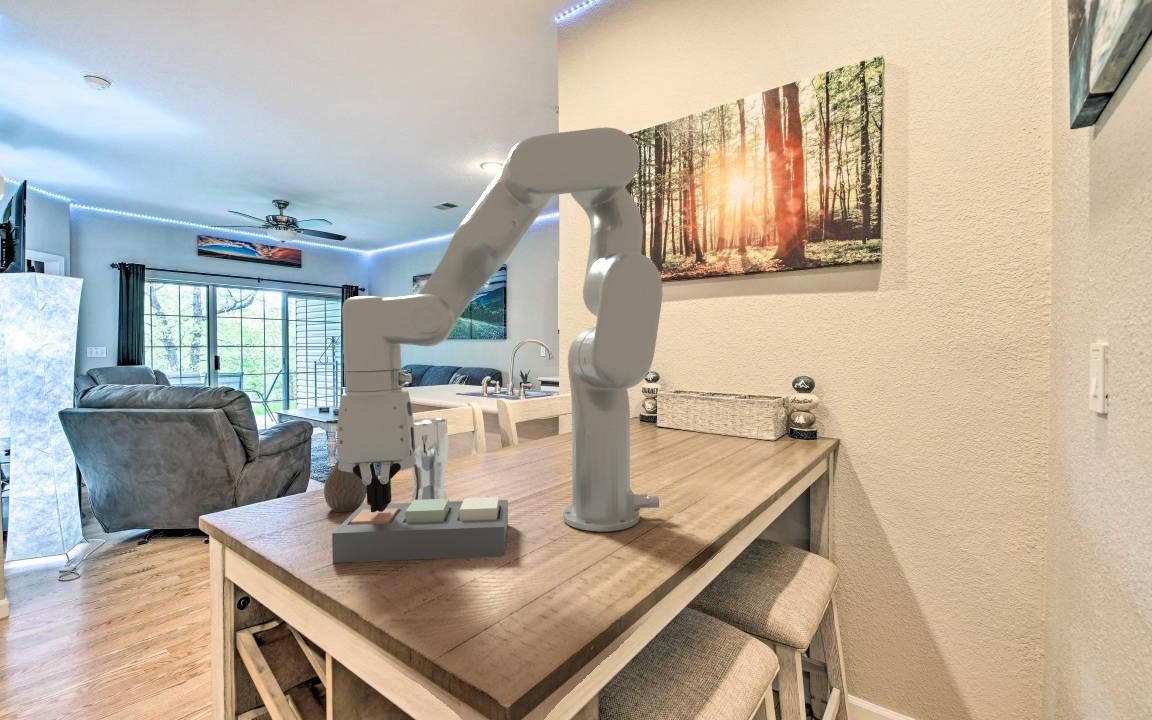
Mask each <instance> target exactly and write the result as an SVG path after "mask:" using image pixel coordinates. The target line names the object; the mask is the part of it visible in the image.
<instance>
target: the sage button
mask: <svg viewBox="0 0 1152 720" xmlns="http://www.w3.org/2000/svg"><path fill="white" fill-rule="evenodd" d="M449 502H450V498H447V499H427V500H413V502H412V501H411V502H410V503H411V504H410V506H409V507H408V509H407V510H406V511H405V513H406V523H414V522H442V521H446V520H447V518H448V515H449Z"/></svg>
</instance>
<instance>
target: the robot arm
mask: <svg viewBox="0 0 1152 720" xmlns="http://www.w3.org/2000/svg"><path fill="white" fill-rule="evenodd" d="M640 160H641V159H640V152H639V148H638V146H637V144H636V141H634V139H633V138H632V136H630V135H629V134H628V133H626V132H625V131H623V130H621V129H618V128H616V127H606V126H605V127H595V128H587V129H579V130H571V131H562V132H554V133H546V134H539V135H534V136H530V137H527V138H524V139H521V140H520V141H518V142H517V143H516V144H515V145H514V146H513V147H512V148H511V149H510V152H509V153H508V155H507V158H506V159H505V162H504V163H503V165H502V166H501V168H500V170H499V171H498V173H497V174H496V175H495V177H494V179H493V180H492V181H491V183H490V184H489V185H488V186H487V188H486V189H485V191H484V192H483V193H482V195H481V196H480V198H479V199H477V202H476V203H475V205H473V207H472V208H471V209H470V210H469V212H468V213H467V215H466V216H465V218H464V219H463V220H462V222H460V224H459V226H458V227H457V229H456V231H455V232H454V234H453V235H452V238H451V239H450V242H449V245H448V246H447V249H446V251H445V253H444V255H443V257H442V258H441V259H440V261H439V263H438V265H437V266H436V268H435V269H434V270H433V272H432V273H431V275H430V277H429V278H428V280H427V281H426V282H425V284H424V285H423V287H422V288H420V290H419V292H418V293H417V294H412V295H405V296H397V297H396V296H395V297H388V296H378V295H377V296H376V295H363V296H362V295H361V296H360V295H359V296H353V297H349V298H347V299H345V300H344V302H343V304H342V309H341V312H342V314H341V315H342V333H343V334H342V335H343V336H342V337H343V350H344V351H343V352H344V353H343V354H344V357H343V358H344V373H345V374H344V377H345V393H341V397H340V401H339V408H338V416H337V426H336V428H337V429H336V450H337V451H336V454H337V458H338V460H339V464H338V469H339V470H341V471H345V472H353V473H355V474H356V475H357V476H358V477H359V478H360V479H362V480H363V483H364V484H365V485H366V489H367V493H366V504H368V505H370V506H371V512H376V511H379V512H383V511H384V510H385V509H386V507H387V506H388V504H391V502H392V482H391V480H392V478H393V477H395V476H396V475H397V474H398V472H399V471H403V470H407V469H412V467H413V466H414V465H415V464H416V458H415V455H414V452H415V449H416V436H415V427H414V420H415V419H414V412H413V406H412V402H411V396H410V393H409V390H406V389H405V390H403V387H404V386H405V385H407V384H412V382H413V377H412V376H413V375H412V373H405V372H404V371H403V369H402V356H401V354H402V351H401V345H408V346H409V345H410V346H419V347H435V346H438V345H440V344H442V343H443V342H445V341H446V340H447V339H448V338H449V337H450V335H451V334H452V332H453V330H454V326H455V324H456V323H457V322H458V320H459V319H460V317H461V316H462V314H463V313H464V311H465V310H466V309H467V307H468V306H470V303H471V302H472V300H473V299H474V298H475V297H476V295H478V293H479V291H480V290H481V289H482V288H484V286H485V285H486V283H488V281H490V279H491V278H493V277H494V275H496V274H497V273H498V271H499V270H501V268H502V266H503V265H504V264H505V263H506V261H507V260H508V259H509V258H510V256H511V254H512V253H513V252H514V250H515V248H516V247H517V246H518V244H519V243H520V242H521V240H522V239H523V237H524V236H525V235H526V233H527V232H528V230H529V229H530V227H531V226H532V225H533V224H534V222H535V221H536V219H537V218H538V216H539V215H540V214H541V212H542V211H543V210H544V208H545V206H547V204H548V202H549V201H550V200H551V198H552V197H553V196H556V195H563V194H566V195H567V194H570V195H571V197H572V198H573V199H574V201H575V202H576V203H577V204H578V205H579V206H580V207H581V208H582V209H583V211H584V212H585V214H586V215H587V218H588V219H589V222H590V223H589V224H590V240H589V241H590V242H589V251H588V257H587V263H586V268H585V269H586V270H585V275H584V281H583V287H582V298H583V301H584V305H585V307H586V309H587V310H588V311H589V312H590V313H591V314H593V315H594V316H596V325H595V326H594V327H593V326H592V327H589V328H587V329H584V330H582V332H580V333H579V334H578V335H577V336H576V337H575V338H574V340H573V341H572V342H571V345H570V347H569V350H568V356H567V368H568V370H567V371H568V379H569V384H570V385H569V387H570V395H571V396H570V398H571V483H572V484H571V492H572V493H571V504H570V505H567V506H566V507H565V508H564V509H563V511H562V520H563V521H564V523H565V524H567V525H569V526H570V527H572V528H575V529H578V530H582V531H589V532H597V533H598V532H599V533H600V532H604V533H605V532H615V531H622V530H627V529H629V528H631V527H633V526H635V525H637V524H638V522H639V521H640V511H641V509H643V508H644V509H646V508H648V509H659V508H660V498H659V496H658V495H648V493H636V494H635V493H634V492H633V491H632V489H631V460H630V459H631V457H630V456H631V443H630V442H631V427H630V426H631V407H630V399H629V398H630V397H629V392H628V389H632V388H635V387H636V386H638V385H639V384H640V383H641V382H642V381H643V380H644V379H645V378H646V377H647V375H648V373H649V372H650V369H651V367H652V364H653V360H654V357H655V352H656V345H657V338H658V331H659V323H660V318H661V317H660V315H661V310H662V304H663V303H662V302H663V282H662V278H661V277H662V276H661V275H660V271H659V269H658V267H657V266H656V264H655V263H654V262H653V261H652V260H651V259H650V258H649V257H648V256H646V255H644V254H642V246H643V236H644V225H643V219H642V218H643V217H642V215H641V212H640V210H639V207H638V205H637V203H636V202H635V200H634V199H633V197H632V195H631V194H630V192H629V191H628V190H627V188H626V186H628V184H629V183H631V181H632V180H633V178H634V177H635V176H636V174H637V172H638V169H639V167H640ZM380 463H381V466H380V476H378V473H377V467H376V464H380Z"/></svg>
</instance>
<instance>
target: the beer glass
mask: <svg viewBox="0 0 1152 720" xmlns="http://www.w3.org/2000/svg"><path fill="white" fill-rule="evenodd" d="M414 427H415V436H416V449H415V452H414V455H415V458H416V464H415V465H414V466H413V467H411V471H412V472H411V473H412V477H413V492H412V499H411V503H412V502H413V500H427V499H448V498H447V494H446V488H445V476H446V475H445V474H446V468H447V462H448V454H449V433H448V424H447V419H446V418H439V417H437V418H436V417H435V418H434V417H433V418H431V417H430V418H419V419H418V418H417V419H414Z"/></svg>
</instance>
